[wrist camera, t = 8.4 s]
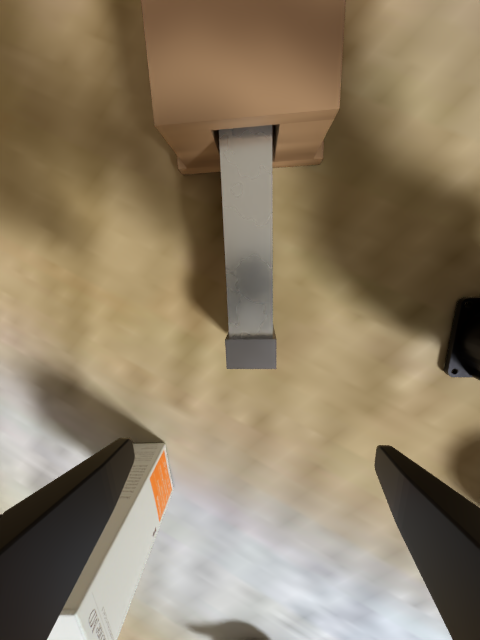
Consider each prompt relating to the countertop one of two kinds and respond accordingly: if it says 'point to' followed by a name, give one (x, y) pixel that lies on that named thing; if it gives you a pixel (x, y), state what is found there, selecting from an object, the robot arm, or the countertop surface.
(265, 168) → the shaft
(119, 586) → the skincare box
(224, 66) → the block
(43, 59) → the countertop surface
